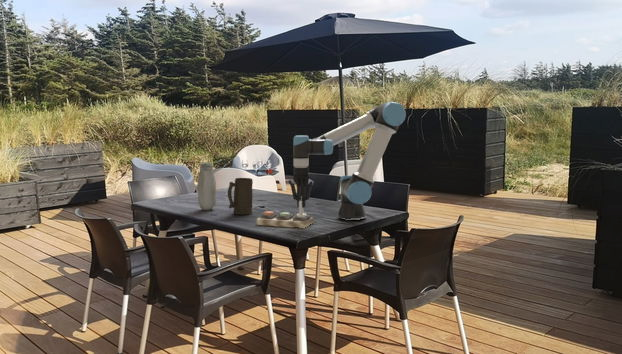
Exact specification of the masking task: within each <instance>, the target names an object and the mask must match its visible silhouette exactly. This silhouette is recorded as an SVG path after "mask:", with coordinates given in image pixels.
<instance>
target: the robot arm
mask: <svg viewBox="0 0 622 354" xmlns="http://www.w3.org/2000/svg"><path fill="white" fill-rule="evenodd" d="M406 112H407V111H406V109H405V107H404V106H403V104H401V103H399V102H396V101H388V102H387V101H386V102H383V103H381V104H379V105H377V106H376V107H373V108H372V109H370V110H368V111H367V112H366V113H365V114H364V115H362V116H360V117H357V118H356V119H353V120H351V121H349V122H346V123H345V124H343V125H341V126H338V127H337V128H335V129H332V130H331V131H328V132H326V133H324V134H322V135H319V136H317V137H314V138H312V139H311V138H309V136H308V135H295V136H293V148H292V149H293V150H292V151H293V176H292V179H290V180H288V183H289V185H290V190H291V193H292V198H293V200H295V201H296V202H297V204H296V205H297V208H298V213H299V214H303V213H305V211H304V210H305V209H304V208H306V201H308V200H309V199H310V196H311V192H312V187H313V185H314V183H315V181H314V180H312V179H310V171H309V169H310V167H309V163H310V162H309V161H310V160H309V159H310V158H309V156H310V155H317V156H320V155H324V156H328V155H332V154H333V151H334V146H336V145H338V144H340V143H342V142H344V141H347V140H349V139H351V138H353V137H355V136H357V135H359V134H362V133H363V132H366V131H368V130H370V129H375V130H374V132H373V134H372V137H371V138H370V141H369V143H368V146H367V148H366V149H365V153H364V154H363V157H362V159H361V161H360V164H359V166H358V168H357V170H356V171H355V172H353V173H352V174H351V175H342V176H341V177H340V181H339V182H340V205H339V207H338V212H337V217H339V218H345V219H351V218H361V217H365V216H367V215H366V210H365V208H364V204H365V203H367V202H368V201H369V200H370V199H371V197H372V188H373V187H374V183H375V181H374V176H375V175H376V172H377V170H378V167H379V164H380V163H381V161H382V159H383V155H384V153H385V151H386V150H387V146H388V144H389V142H390V140H391V138H392V135H394V134H396V133H397V131H398V129H399V126H400V125H402V124H403V122H404V121H405V120H406V116H407V113H406ZM307 184H308V185H307ZM306 187H307V189H306ZM337 217H336V218H337Z"/></svg>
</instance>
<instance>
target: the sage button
mask: <svg viewBox="0 0 622 354" xmlns="http://www.w3.org/2000/svg"><path fill="white" fill-rule="evenodd" d="M290 214H291V213H290V212H288V211H285V212H284V211H283V212H280V213H279V215H280V216H283V217H289V216H290Z"/></svg>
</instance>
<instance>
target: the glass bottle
mask: <svg viewBox="0 0 622 354" xmlns="http://www.w3.org/2000/svg"><path fill="white" fill-rule="evenodd" d="M197 179H198V180H197V199H198V200H197V202H198V206H199V207H200V209H201V210H204V211H210V210H212V209H213V208H214V207H215V206H216V203H217V185H216V184H217V183H216V179H215V175H214V168H213V165H212V163H211V162H207V161H204V162H202V163H201V164H200V165H199V172H198V178H197Z"/></svg>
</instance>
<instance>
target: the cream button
mask: <svg viewBox="0 0 622 354" xmlns="http://www.w3.org/2000/svg"><path fill="white" fill-rule="evenodd" d="M296 215H297V217H298V218H306V217H307V213H306V212H304V213H303V214H299V212H298V213H296Z"/></svg>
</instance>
